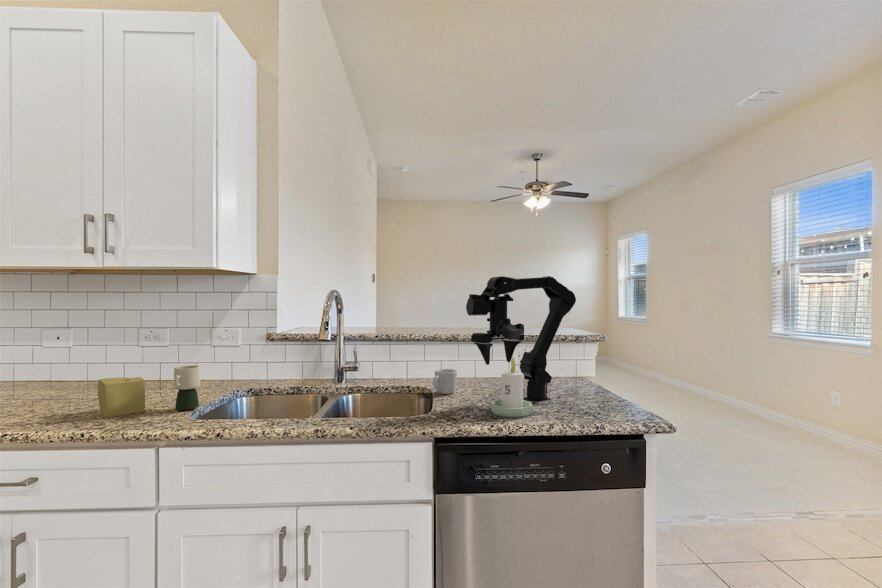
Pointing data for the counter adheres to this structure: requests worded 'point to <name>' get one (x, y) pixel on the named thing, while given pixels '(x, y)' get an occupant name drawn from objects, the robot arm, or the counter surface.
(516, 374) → the candle
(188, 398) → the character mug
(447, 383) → the cup
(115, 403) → the cheese
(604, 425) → the counter surface
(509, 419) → the mat
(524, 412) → the dish
